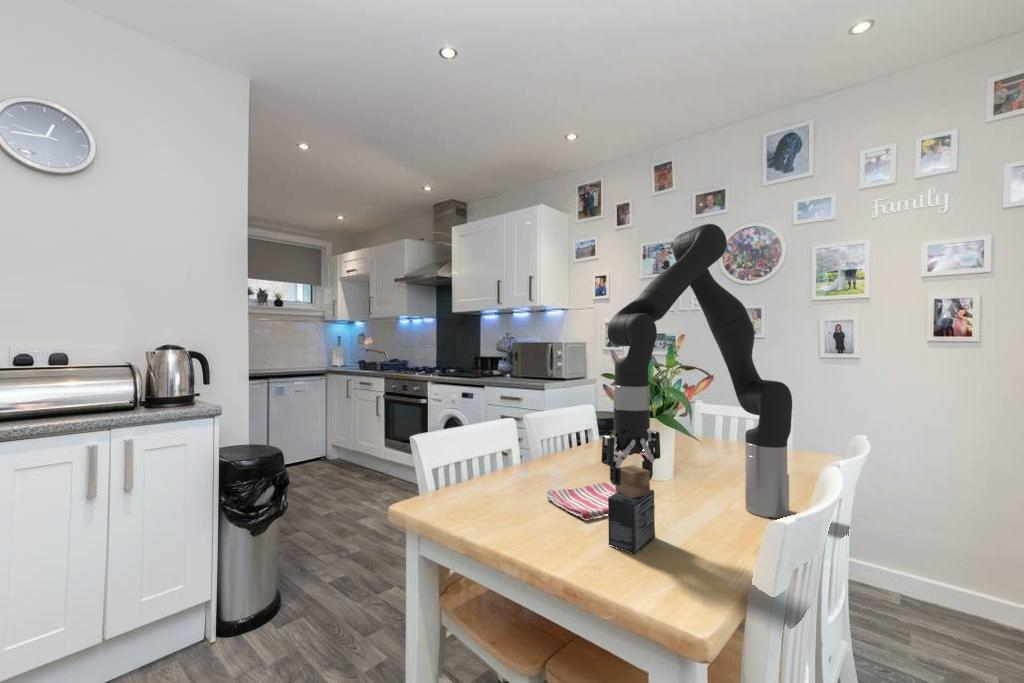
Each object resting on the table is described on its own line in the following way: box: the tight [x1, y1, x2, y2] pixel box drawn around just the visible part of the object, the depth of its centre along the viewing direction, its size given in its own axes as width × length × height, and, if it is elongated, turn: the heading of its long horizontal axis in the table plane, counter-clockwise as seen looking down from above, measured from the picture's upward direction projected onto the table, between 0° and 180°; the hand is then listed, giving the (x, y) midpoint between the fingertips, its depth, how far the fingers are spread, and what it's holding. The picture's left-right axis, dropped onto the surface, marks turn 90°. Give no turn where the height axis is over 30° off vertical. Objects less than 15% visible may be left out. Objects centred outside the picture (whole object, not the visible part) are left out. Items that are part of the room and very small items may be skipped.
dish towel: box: [546, 482, 617, 521], centre depth 118 cm, size 17×23×4 cm
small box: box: [607, 488, 656, 554], centre depth 95 cm, size 11×6×10 cm, turn 141°
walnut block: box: [615, 464, 651, 498], centre depth 95 cm, size 5×5×5 cm
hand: (631, 481), depth 95 cm, fingers open, 8 cm apart
